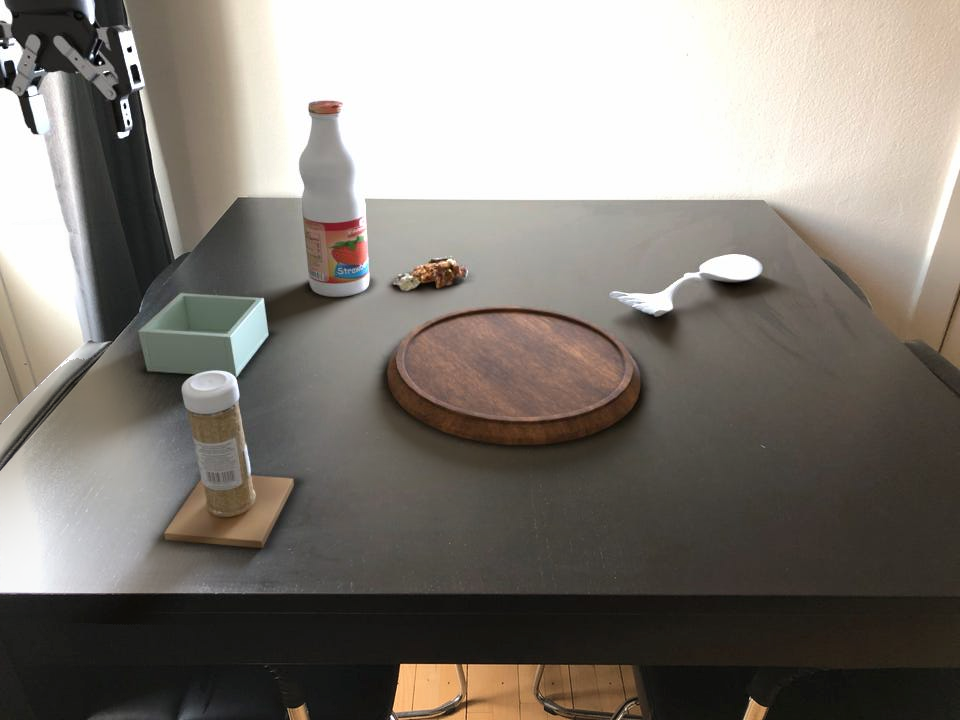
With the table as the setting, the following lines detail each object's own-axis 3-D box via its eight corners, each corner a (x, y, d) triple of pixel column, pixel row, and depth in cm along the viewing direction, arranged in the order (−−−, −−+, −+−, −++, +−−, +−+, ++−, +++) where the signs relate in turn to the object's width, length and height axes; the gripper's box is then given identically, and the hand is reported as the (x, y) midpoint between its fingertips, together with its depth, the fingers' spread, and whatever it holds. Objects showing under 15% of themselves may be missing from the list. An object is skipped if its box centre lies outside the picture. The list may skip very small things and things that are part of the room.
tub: (147, 372, 93) (137, 331, 90) (187, 331, 103) (180, 292, 100) (236, 378, 92) (230, 337, 89) (268, 336, 102) (263, 297, 99)
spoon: (605, 311, 112) (607, 290, 110) (723, 262, 130) (727, 243, 129) (653, 332, 106) (657, 310, 104) (770, 278, 124) (775, 258, 123)
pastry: (387, 283, 119) (386, 262, 118) (448, 266, 126) (448, 246, 124) (411, 297, 115) (411, 276, 113) (473, 280, 121) (473, 259, 119)
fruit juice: (329, 271, 123) (314, 95, 110) (380, 280, 120) (371, 100, 107) (298, 292, 115) (277, 105, 102) (351, 302, 112) (337, 111, 99)
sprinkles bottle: (264, 491, 72) (245, 371, 65) (242, 523, 68) (220, 398, 61) (220, 485, 72) (197, 365, 66) (196, 515, 68) (169, 391, 62)
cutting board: (472, 480, 75) (472, 460, 74) (347, 351, 99) (345, 334, 98) (694, 396, 90) (698, 378, 89) (540, 301, 114) (541, 286, 113)
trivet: (165, 541, 67) (163, 533, 66) (207, 479, 75) (205, 471, 74) (262, 549, 66) (261, 541, 66) (294, 486, 74) (293, 478, 74)
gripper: (134, -44, 70) (165, 130, 78) (-7, -49, 72) (38, 124, 79) (90, -44, 64) (129, 146, 72) (-65, -49, 65) (-10, 139, 73)
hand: (81, 134), depth 76 cm, fingers open, 8 cm apart
